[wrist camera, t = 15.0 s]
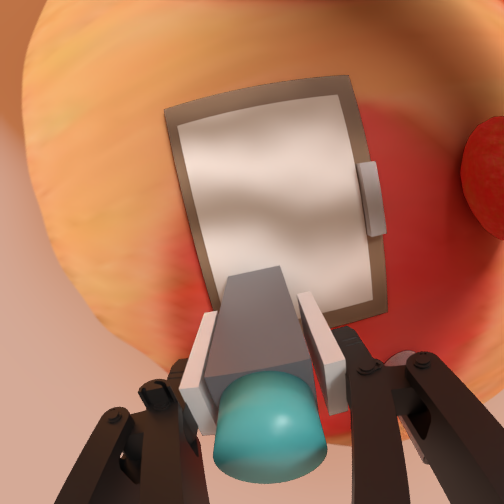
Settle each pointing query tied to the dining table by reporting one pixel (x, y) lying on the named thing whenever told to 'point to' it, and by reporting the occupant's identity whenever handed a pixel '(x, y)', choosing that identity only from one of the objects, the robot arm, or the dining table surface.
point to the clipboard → (285, 192)
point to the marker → (263, 384)
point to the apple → (485, 175)
